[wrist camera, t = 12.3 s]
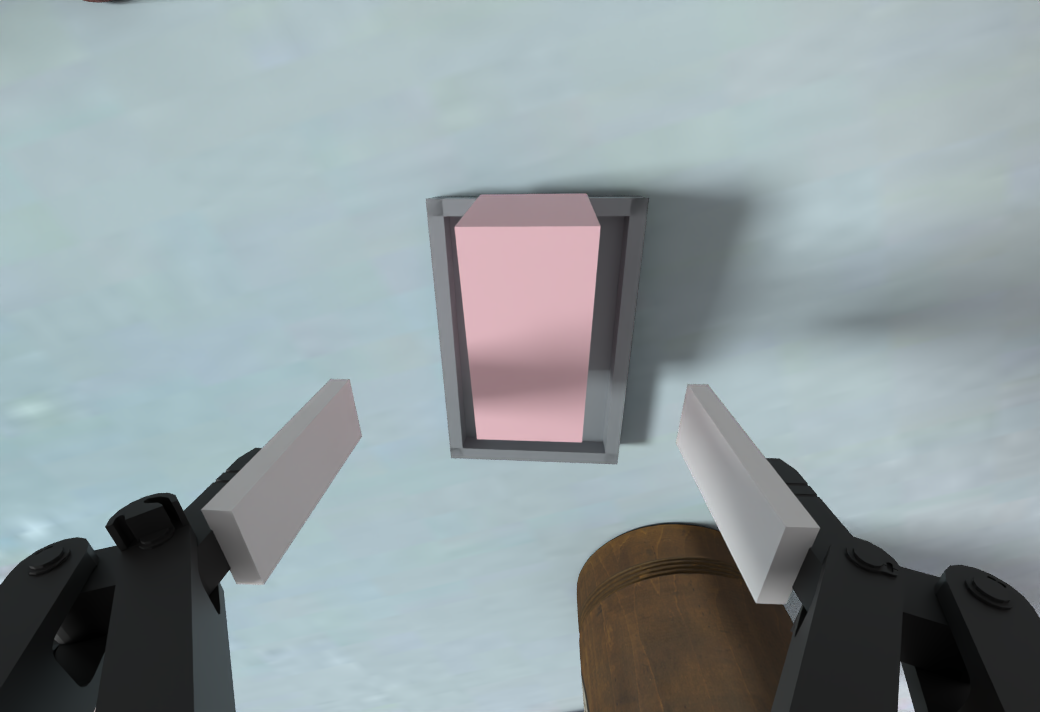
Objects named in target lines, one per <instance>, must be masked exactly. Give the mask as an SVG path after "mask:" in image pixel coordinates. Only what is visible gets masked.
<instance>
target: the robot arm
mask: <svg viewBox="0 0 1040 712" xmlns="http://www.w3.org/2000/svg"><path fill="white" fill-rule="evenodd" d="M361 437H362V434H361V430H360V425H359V420H358V416H357V411H356V407H355V402H354V398H353V393H352V388H351V384H350V379H330V380H329V381H328V382H327V383H326V384H325V385H324V386H323V387H322V388H321V389H320V390H319V391H318V392H317V393H316V394H315V395H314V396H313V397H312V398H311V399H310V400H309V401H308V402H307V403H306V404H305V405H304V406H303V407H302V408H301V409H300V410H299V411H298V412H297V413H296V414H295V415H294V416H293V417H292V418H291V420H290V421H289V422H288V423H287V424H286V425H285V426H284V427H283V428H282V429H281V430H280V431H279V432H278V433H277V434H276V435H275V436H274V437H273V438H272V439H271V440H270V441H269V442H268V443H267V444H266V445H265V446H264V447H263V448H254V449H253V450H251V451H250V452H248V453H246V454H245V455H243V456H241V457H240V458H238V459H237V460H236V461H235V462H234V463H233V464H232V465H231V466H230V467H229V468H228V469H227V470H226V472H225V473H223V474H222V475H220V476H219V477H218V478H217V479H216V482H215V483H214V482H213V483H212V484H211V485H210V486H209V487H208V488H207V489H206V490H205V491H204V492H203V493H202V494H201V495H200V496H199V497H198V498H197V499H196V500H195V501H194V502H192V503H191V504H190V505H189V506H188V507H187V508H186V509H185V510H184V511H183V509H182V507H181V505H180V503H179V501H178V499H177V497H176V495H173V494H170V493H157V494H153V495H150V496H146V497H143V498H141V499H139V500H136V501H134V502H132V503H130V504H128V505H127V506H125V507H124V508H122V509H120V510H119V511H118V512H117V513H116V514H115V515H113V516H112V517H111V518H110V519H109V521H108V523H107V525H106V526H105V527H106V529H107V531H108V532H109V534H110V535H111V537H112V538H113V540H114V542H115V543H116V545H117V546H113V547H108V548H104V549H99V550H93V548H92V547H91V545H90V544H89V543H88V541H87V540H86V539H84V538H78V537H76V538H70V539H65V540H62V541H59V542H56V543H53V544H50V545H48V546H46V547H44V548H42V549H40V550H38V551H36V552H34V553H33V554H32V555H30V556H29V557H27V558H26V559H24V560H23V561H21V562H20V563H19V564H18V565H17V566H16V567H15V568H14V569H13V570H12V571H11V572H10V573H9V575H8V576H7V577H6V578H5V580H4V581H3V582H2V584H1V585H0V712H94V710H95V708H96V711H95V712H236V711H235V700H234V690H233V680H232V670H231V660H230V650H229V640H228V630H227V620H226V610H225V600H224V590H223V588H222V586H221V584H220V581H221V580H222V579H223V577H224V576H225V575H226V574H227V572H228V571H229V570H230V571H231V573H232V575H233V577H234V580H235V582H236V584H251V585H264V584H265V582H266V581H267V579H268V578H269V576H270V575H271V573H272V572H273V570H274V569H275V567H276V566H277V564H278V563H279V561H280V560H281V558H282V557H283V555H284V554H285V552H286V551H287V549H288V548H289V546H290V545H291V543H292V542H293V540H294V539H295V537H296V535H297V534H298V532H299V531H300V529H301V528H302V526H303V525H304V523H305V522H306V520H307V519H308V517H309V516H310V514H311V513H312V511H313V510H314V508H315V507H316V505H317V504H318V502H319V501H320V499H321V498H322V496H323V495H324V493H325V492H326V490H327V489H328V487H329V486H330V484H331V483H332V481H333V479H334V478H335V476H336V475H337V473H338V472H339V470H340V469H341V467H342V466H343V464H344V463H345V461H346V460H347V458H348V457H349V455H350V454H351V452H352V451H353V449H354V448H355V446H356V445H357V443H358V442H359V440H360V439H361ZM676 444H677V446H678V448H679V450H680V452H681V454H682V456H683V458H684V460H685V462H686V464H687V466H688V468H689V470H690V472H691V474H692V476H693V478H694V480H695V482H696V484H697V486H698V488H699V490H700V492H701V494H702V496H703V498H704V500H705V502H706V504H707V506H708V508H709V510H710V512H711V514H712V516H713V518H714V520H715V522H716V524H717V526H718V528H719V530H720V532H721V534H722V536H723V538H724V540H725V542H726V544H727V546H728V548H729V550H730V552H731V554H732V556H733V558H734V560H735V562H736V564H737V566H738V568H739V570H740V572H741V574H742V576H743V578H744V580H745V582H746V584H747V586H748V588H749V590H750V592H751V594H752V596H753V598H754V600H755V602H756V603H760V604H787V602H788V600H789V597H790V595H791V593H792V591H793V589H794V591H795V593H796V594H797V596H798V598H799V599H800V601H801V603H802V604H803V605H802V607H801V609H800V611H799V613H798V615H797V617H796V619H795V622H794V624H793V626H792V628H791V630H790V631H791V632H793V635H792V638H791V642H790V645H789V649H788V652H787V656H786V659H785V663H784V666H783V670H782V673H781V677H780V681H779V684H778V688H777V691H776V695H775V698H774V702H773V705H772V709H771V712H897V711H898V692H899V673H900V661H901V663H902V667H903V670H904V674H905V678H906V681H907V685H908V688H909V692H910V695H911V699H912V703H913V706H914V710H915V712H1040V618H1039V616H1038V615H1037V613H1036V611H1035V610H1034V608H1033V607H1032V606H1031V605H1030V603H1029V602H1028V601H1027V600H1026V599H1025V597H1024V596H1022V595H1021V594H1020V593H1019V592H1017V591H1016V590H1015V589H1014V588H1012V587H1011V586H1010V585H1009V584H1007V583H1005V582H1003V581H1002V580H1000V579H998V578H996V577H995V576H993V575H991V574H989V573H986V572H984V571H981V570H979V569H976V568H973V567H968V566H964V565H953V566H949V567H948V568H947V569H946V570H945V571H944V573H943V574H942V576H941V577H936V576H933V575H929V574H925V573H922V572H918V571H914V570H911V569H907V568H903V567H900V566H899V565H898V563H897V562H896V561H895V560H894V559H893V558H892V557H891V556H890V555H889V554H887V553H886V552H885V551H884V550H882V549H881V548H879V547H877V546H875V545H873V544H872V543H870V542H867V541H865V540H862V539H859V538H856V537H853V536H852V535H851V534H850V533H849V531H848V530H847V529H846V528H845V527H844V526H843V524H842V523H841V522H840V521H839V520H838V519H837V517H836V516H835V515H834V514H833V513H832V512H831V510H830V509H829V508H828V507H827V506H826V504H825V503H824V502H823V501H822V500H821V499H820V497H817V494H816V493H815V492H814V490H813V489H812V488H811V487H810V486H808V485H807V484H808V483H807V482H806V481H805V480H804V479H803V478H802V476H801V475H800V474H799V473H798V472H797V470H795V469H794V468H792V467H791V466H790V465H788V464H787V463H785V462H784V461H782V460H781V459H776V458H765V457H764V455H763V454H762V453H761V452H760V450H759V449H758V448H757V446H756V445H755V444H754V443H753V441H752V440H751V439H750V438H749V436H748V435H747V434H746V432H745V431H744V430H743V429H742V427H741V426H740V425H739V423H738V422H737V421H736V420H735V418H734V417H733V416H732V415H731V413H730V412H729V411H728V409H727V408H726V407H725V406H724V404H723V403H722V402H721V400H720V399H719V398H718V397H717V395H716V394H715V393H714V392H713V390H712V389H711V388H710V386H709V385H707V384H687V389H686V394H685V399H684V404H683V409H682V415H681V420H680V425H679V430H678V435H677V440H676Z"/></svg>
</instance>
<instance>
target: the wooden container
mask: <svg viewBox="0 0 1040 712" xmlns="http://www.w3.org/2000/svg"><path fill="white" fill-rule="evenodd" d="M577 607H578V624H579V633H580V638H579V645H580V661H581V676H582V688H583V701H584V712H771V709H772V705H773V702H774V698H775V695H776V691H777V688H778V684H779V681H780V677H781V673H782V670H783V666H784V663H785V659H786V656H787V652H788V649H789V645H790V642H791V638H792V635H793V632H791V631H790V630H791V628H792V626H793V622H792V620H791V618H790V616H789V615H788V613H787V611H786V609H785V607H784V606H783V604H760V603H756V602H755V600H754V598H753V596H752V594H751V592H750V590H749V588H748V586H747V584H746V582H745V580H744V578H743V576H742V574H741V572H740V570H739V568H738V566H737V564H736V562H735V560H734V558H733V556H732V554H731V552H730V550H729V548H728V546H727V544H726V542H725V540H724V538H723V536H722V534H721V532H720V531H717V530H714V529H710V528H706V527H701V526H693V525H682V524H667V525H656V526H649V527H644V528H640V529H636V530H633V531H630V532H627V533H625V534H623V535H620V536H618V537H616V538H614V539H613V540H611V541H609V542H608V543H606V544H605V545H603V546H602V547H601V548H599V549H598V550H597V551H596V552H595V553H594V554H593V555H592V556H591V557H590V558H589V559H588V560H587V562H586V563H585V565H584V566H583V568H582V570H581V572H580V574H579V578H578V582H577Z"/></svg>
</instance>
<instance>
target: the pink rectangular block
mask: <svg viewBox="0 0 1040 712" xmlns="http://www.w3.org/2000/svg"><path fill="white" fill-rule="evenodd" d="M600 227H601V226H600V224H599V221H598V219H597V217H596V214H595V212H594V210H593V207H592V205H591V202H590V200H589V198H588V195H587V193H582V194H480V196H479V197H478V198H477V199H476V201H475V202H474V203H473V204H472V206H471V207H470V208H469V209H468V211H467V212H466V213H465V214H464V216H463V217H462V218H461V219H460V221H459V222H458V223H457V224H456V226H455V236H456V246H457V255H458V265H459V274H460V283H461V293H462V302H463V312H464V321H465V331H466V340H467V349H468V359H469V368H470V378H471V387H472V397H473V406H474V415H475V425H476V434H477V439H487V440H519V441H551V442H582V436H583V424H584V412H585V401H586V389H587V378H588V366H589V355H590V343H591V331H592V320H593V308H594V297H595V285H596V273H597V262H598V250H599V239H600Z"/></svg>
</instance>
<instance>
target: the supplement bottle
mask: <svg viewBox="0 0 1040 712" xmlns="http://www.w3.org/2000/svg"><path fill="white" fill-rule="evenodd" d="M84 1H88V2H108V1H111V0H84Z"/></svg>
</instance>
